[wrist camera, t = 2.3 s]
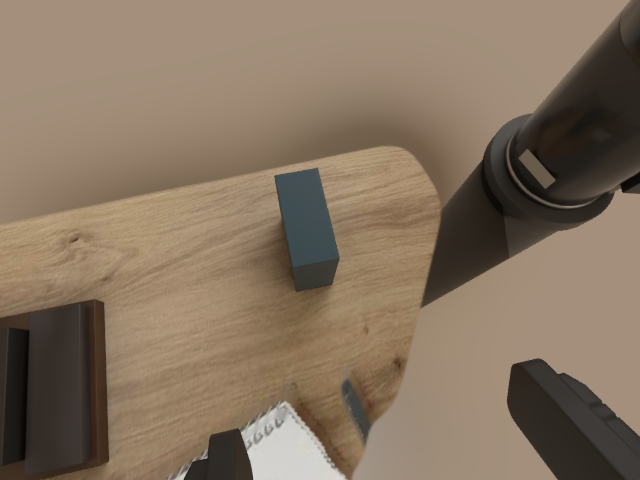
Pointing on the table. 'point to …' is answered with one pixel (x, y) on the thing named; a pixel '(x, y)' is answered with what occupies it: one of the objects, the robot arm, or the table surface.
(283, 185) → the back pad
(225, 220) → the table surface
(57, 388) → the brown wooden stand
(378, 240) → the table surface
